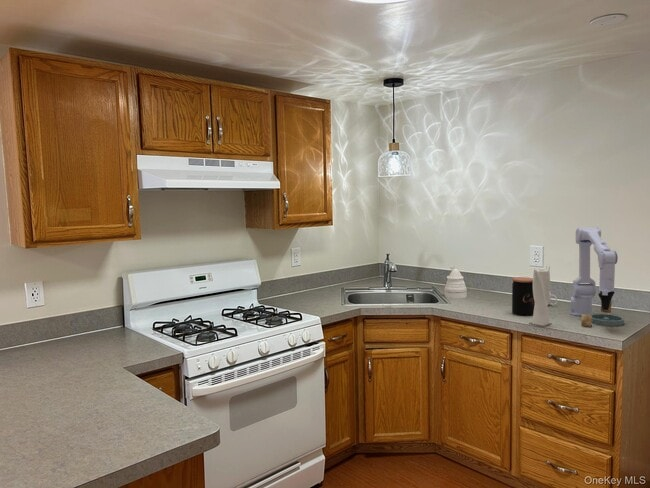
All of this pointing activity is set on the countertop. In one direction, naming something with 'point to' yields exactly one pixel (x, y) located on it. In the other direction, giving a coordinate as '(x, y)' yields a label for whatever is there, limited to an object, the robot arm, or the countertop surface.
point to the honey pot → (455, 285)
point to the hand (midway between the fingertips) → (606, 308)
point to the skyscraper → (541, 296)
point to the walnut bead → (606, 310)
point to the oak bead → (586, 320)
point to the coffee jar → (522, 296)
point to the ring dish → (609, 323)
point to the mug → (550, 299)
